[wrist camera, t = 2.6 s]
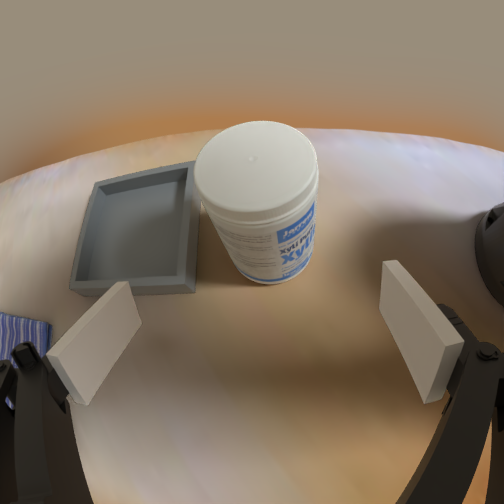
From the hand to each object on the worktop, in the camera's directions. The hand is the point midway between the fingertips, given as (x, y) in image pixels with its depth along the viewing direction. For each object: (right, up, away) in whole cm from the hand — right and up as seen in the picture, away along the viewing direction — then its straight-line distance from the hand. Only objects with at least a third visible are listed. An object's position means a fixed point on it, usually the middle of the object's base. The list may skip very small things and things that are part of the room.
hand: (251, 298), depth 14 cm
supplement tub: (+2, +3, +20) cm, 20 cm away
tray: (-15, +5, +23) cm, 28 cm away
